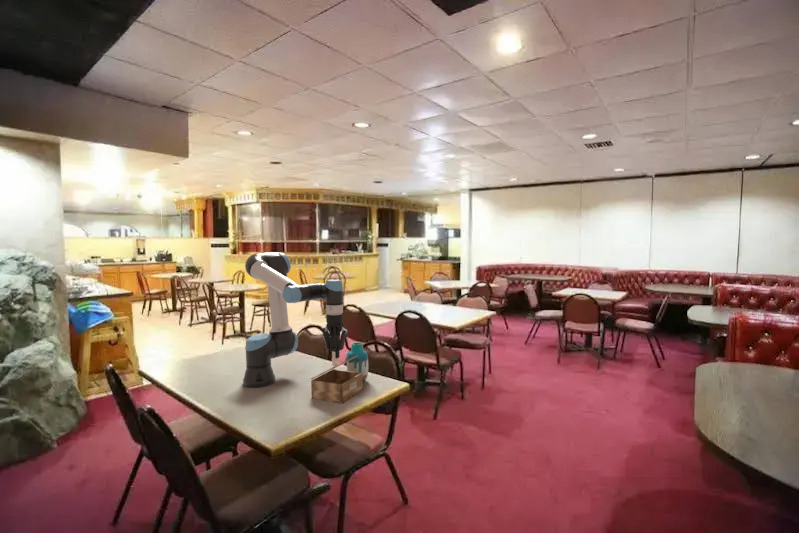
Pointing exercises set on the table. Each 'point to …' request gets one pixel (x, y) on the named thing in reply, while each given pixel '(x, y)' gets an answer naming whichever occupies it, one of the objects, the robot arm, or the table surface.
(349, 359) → the flap
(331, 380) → the wooden box
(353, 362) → the vase
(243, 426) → the table surface
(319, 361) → the table surface
